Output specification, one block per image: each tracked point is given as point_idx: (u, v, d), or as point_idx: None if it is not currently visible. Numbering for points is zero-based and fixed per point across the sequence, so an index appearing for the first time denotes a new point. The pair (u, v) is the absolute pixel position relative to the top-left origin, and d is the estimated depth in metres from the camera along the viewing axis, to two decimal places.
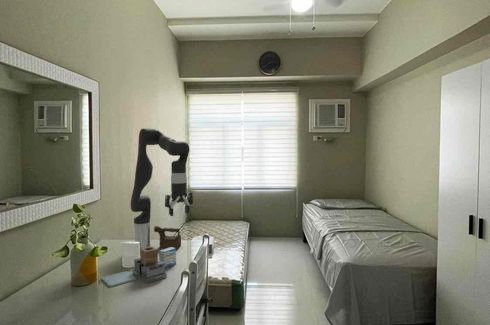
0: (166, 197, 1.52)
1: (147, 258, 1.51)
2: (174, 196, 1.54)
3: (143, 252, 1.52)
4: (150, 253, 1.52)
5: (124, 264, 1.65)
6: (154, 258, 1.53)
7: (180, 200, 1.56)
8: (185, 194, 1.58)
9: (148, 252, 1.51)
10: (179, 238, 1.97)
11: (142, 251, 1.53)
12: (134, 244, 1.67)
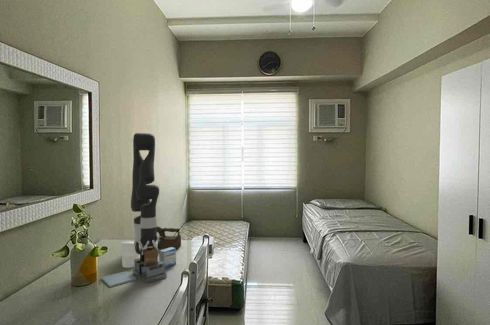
0: (135, 244, 1.50)
1: (147, 258, 1.51)
2: (143, 242, 1.51)
3: None
4: (150, 253, 1.52)
5: (124, 264, 1.65)
6: (154, 258, 1.53)
7: (150, 244, 1.53)
8: (155, 238, 1.55)
9: (148, 252, 1.51)
10: (179, 238, 1.97)
11: None
12: None
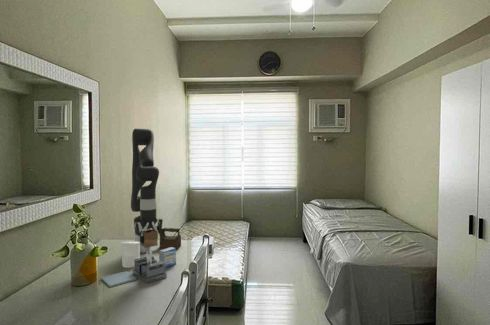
0: (135, 225, 1.49)
1: (147, 240, 1.50)
2: (143, 223, 1.51)
3: None
4: (150, 235, 1.51)
5: (124, 264, 1.65)
6: (154, 239, 1.53)
7: (149, 226, 1.53)
8: (155, 220, 1.55)
9: (148, 234, 1.51)
10: (179, 238, 1.97)
11: None
12: (134, 244, 1.67)
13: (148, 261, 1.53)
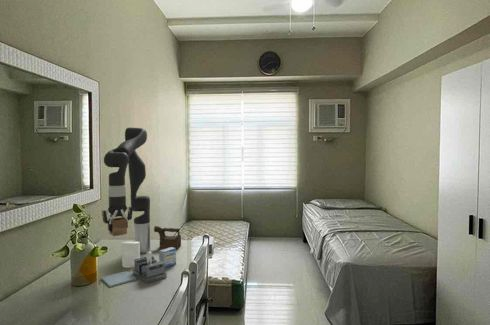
0: (102, 213, 1.44)
1: (115, 228, 1.45)
2: (111, 211, 1.46)
3: None
4: (118, 223, 1.46)
5: (124, 264, 1.65)
6: (123, 228, 1.48)
7: (118, 214, 1.48)
8: (124, 207, 1.50)
9: (116, 221, 1.45)
10: (179, 238, 1.97)
11: None
12: (134, 244, 1.67)
13: (148, 261, 1.53)
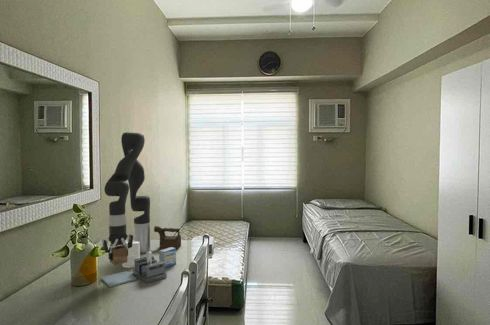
0: (103, 242, 1.45)
1: (115, 257, 1.46)
2: (111, 240, 1.46)
3: None
4: (119, 252, 1.47)
5: (124, 264, 1.65)
6: (123, 256, 1.48)
7: (119, 243, 1.48)
8: (125, 236, 1.50)
9: (117, 251, 1.46)
10: (179, 238, 1.97)
11: None
12: (134, 244, 1.67)
13: (148, 261, 1.53)
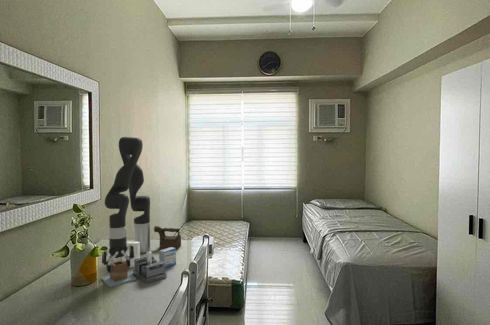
0: (103, 254, 1.45)
1: (116, 273, 1.46)
2: (112, 252, 1.46)
3: (112, 267, 1.47)
4: (119, 268, 1.47)
5: None
6: (124, 272, 1.49)
7: (119, 255, 1.49)
8: (125, 248, 1.50)
9: (117, 267, 1.46)
10: (179, 238, 1.97)
11: (111, 265, 1.48)
12: (134, 244, 1.67)
13: (148, 261, 1.53)
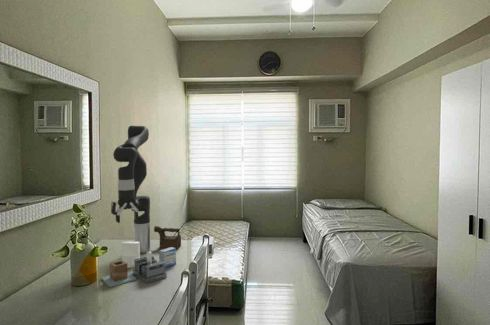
0: (112, 204, 1.50)
1: (116, 273, 1.46)
2: (121, 203, 1.52)
3: (112, 267, 1.47)
4: (119, 268, 1.47)
5: None
6: (124, 272, 1.49)
7: (127, 207, 1.54)
8: (133, 200, 1.56)
9: (117, 267, 1.46)
10: (179, 238, 1.97)
11: (111, 265, 1.48)
12: (134, 244, 1.67)
13: (148, 261, 1.53)
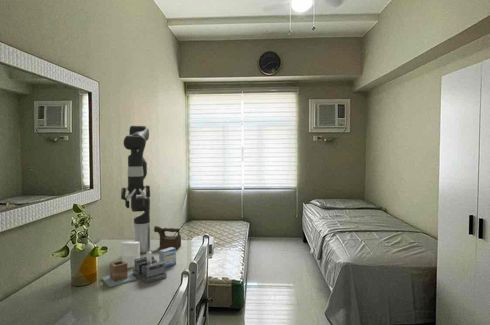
0: (122, 190, 1.57)
1: (116, 273, 1.46)
2: (130, 189, 1.58)
3: (112, 267, 1.47)
4: (119, 268, 1.47)
5: None
6: (124, 272, 1.49)
7: (137, 193, 1.61)
8: (142, 187, 1.62)
9: (117, 267, 1.46)
10: (179, 238, 1.97)
11: (111, 265, 1.48)
12: (134, 244, 1.67)
13: (148, 261, 1.53)
